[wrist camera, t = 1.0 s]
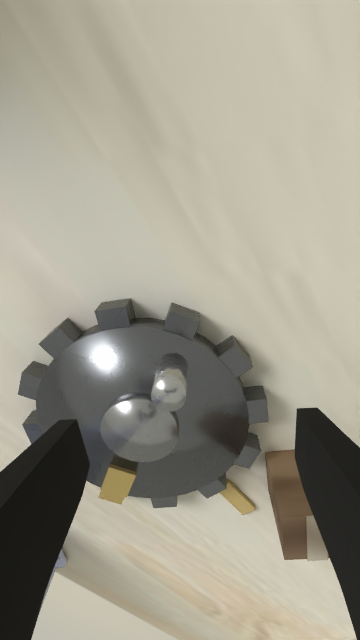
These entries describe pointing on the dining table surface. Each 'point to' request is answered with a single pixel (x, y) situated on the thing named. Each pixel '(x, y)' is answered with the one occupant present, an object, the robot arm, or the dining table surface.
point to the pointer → (237, 499)
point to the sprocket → (148, 402)
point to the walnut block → (292, 509)
